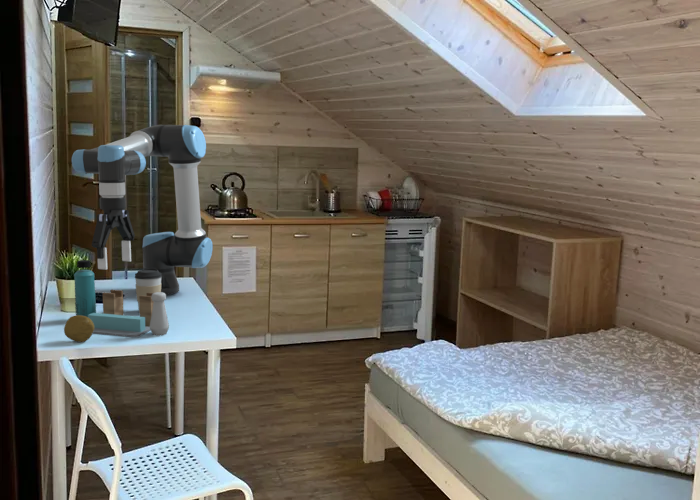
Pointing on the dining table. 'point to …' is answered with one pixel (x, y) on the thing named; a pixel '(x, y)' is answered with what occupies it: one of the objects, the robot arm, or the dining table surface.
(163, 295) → the salt shaker
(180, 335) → the dining table surface
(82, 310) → the beverage bottle
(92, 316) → the rail
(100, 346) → the dining table surface
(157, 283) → the coffee cup
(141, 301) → the post
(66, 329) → the potato
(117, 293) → the post
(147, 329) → the mat
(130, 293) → the dining table surface
